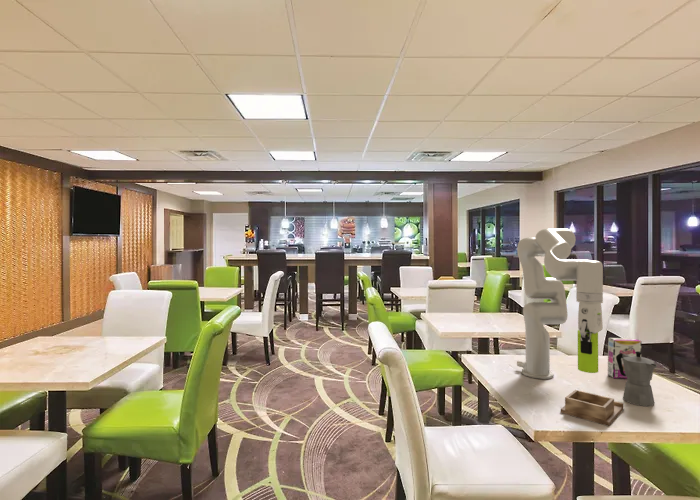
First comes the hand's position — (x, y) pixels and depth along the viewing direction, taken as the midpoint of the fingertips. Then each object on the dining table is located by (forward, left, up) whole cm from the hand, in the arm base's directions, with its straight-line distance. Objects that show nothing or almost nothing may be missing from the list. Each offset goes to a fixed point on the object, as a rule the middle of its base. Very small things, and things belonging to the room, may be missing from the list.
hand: (589, 351), depth 131 cm
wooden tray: (0, +3, -21) cm, 21 cm away
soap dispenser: (0, 0, -7) cm, 7 cm away
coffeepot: (+8, +25, -21) cm, 34 cm away
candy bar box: (-1, +52, -21) cm, 56 cm away
